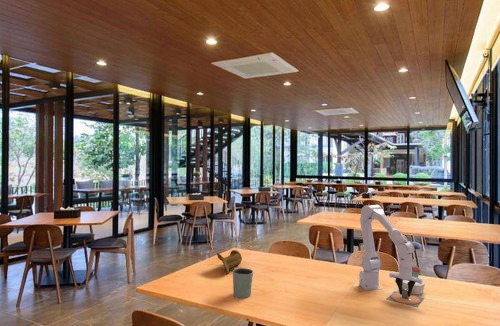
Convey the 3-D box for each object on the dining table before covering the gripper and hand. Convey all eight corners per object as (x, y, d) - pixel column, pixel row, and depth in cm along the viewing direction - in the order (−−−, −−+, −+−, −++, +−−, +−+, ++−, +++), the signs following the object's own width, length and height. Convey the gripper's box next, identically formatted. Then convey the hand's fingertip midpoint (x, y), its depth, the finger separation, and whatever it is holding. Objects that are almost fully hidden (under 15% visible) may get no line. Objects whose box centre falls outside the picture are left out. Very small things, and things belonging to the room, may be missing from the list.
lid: (399, 304, 153) (399, 294, 153) (385, 293, 166) (385, 284, 166) (426, 303, 154) (426, 294, 154) (410, 293, 167) (410, 284, 167)
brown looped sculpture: (203, 257, 204) (228, 246, 219) (209, 277, 202) (234, 264, 218) (220, 254, 191) (246, 242, 207) (227, 275, 189) (253, 262, 205)
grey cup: (229, 293, 165) (229, 269, 166) (247, 290, 169) (248, 267, 170) (236, 300, 156) (237, 275, 156) (256, 297, 160) (256, 272, 160)
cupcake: (422, 280, 188) (423, 259, 188) (406, 279, 190) (407, 258, 190) (418, 276, 196) (418, 255, 197) (403, 274, 198) (403, 254, 198)
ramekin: (405, 286, 179) (405, 276, 179) (427, 292, 171) (427, 281, 171) (397, 291, 171) (397, 281, 171) (420, 297, 163) (420, 287, 163)
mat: (417, 308, 150) (417, 307, 150) (385, 300, 159) (385, 299, 159) (424, 299, 161) (424, 298, 161) (394, 291, 170) (394, 291, 170)
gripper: (423, 268, 159) (423, 296, 159) (392, 262, 168) (392, 289, 168) (420, 271, 153) (420, 300, 153) (388, 265, 163) (387, 293, 162)
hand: (405, 295), depth 160 cm, fingers closed on lid, 3 cm apart
